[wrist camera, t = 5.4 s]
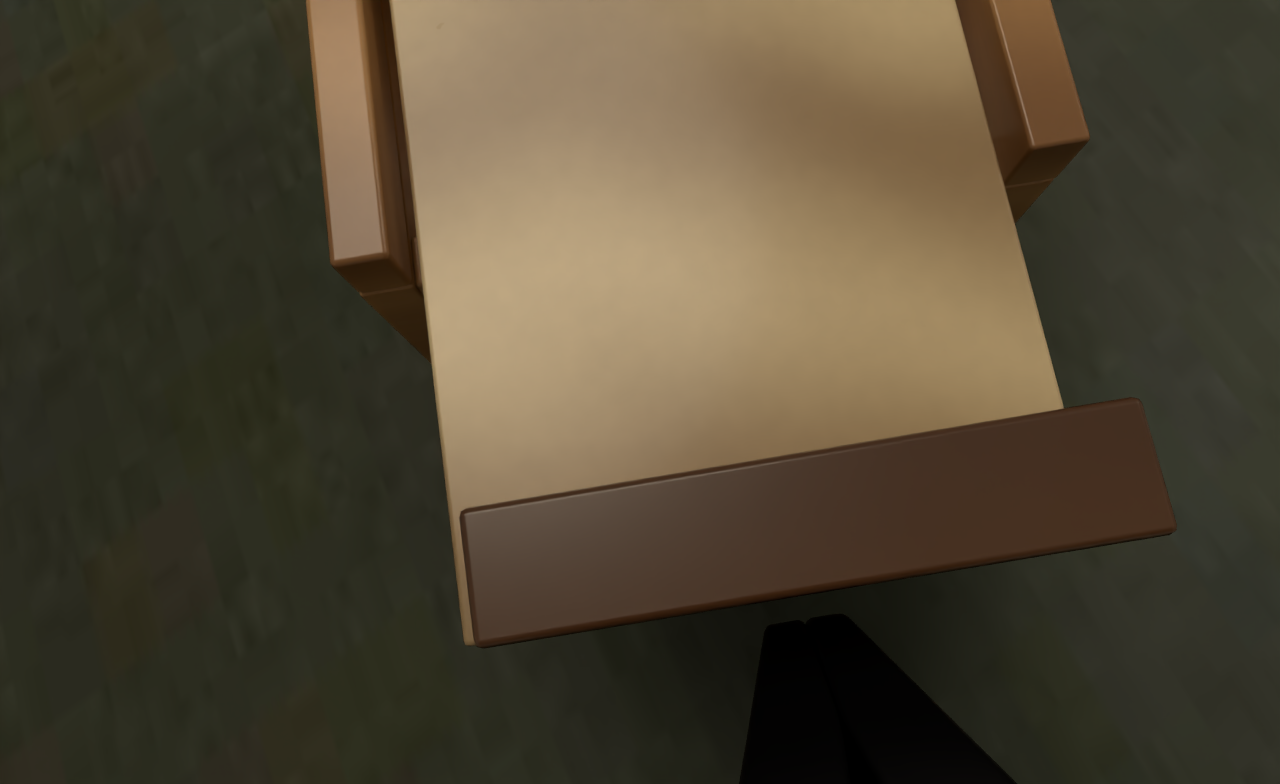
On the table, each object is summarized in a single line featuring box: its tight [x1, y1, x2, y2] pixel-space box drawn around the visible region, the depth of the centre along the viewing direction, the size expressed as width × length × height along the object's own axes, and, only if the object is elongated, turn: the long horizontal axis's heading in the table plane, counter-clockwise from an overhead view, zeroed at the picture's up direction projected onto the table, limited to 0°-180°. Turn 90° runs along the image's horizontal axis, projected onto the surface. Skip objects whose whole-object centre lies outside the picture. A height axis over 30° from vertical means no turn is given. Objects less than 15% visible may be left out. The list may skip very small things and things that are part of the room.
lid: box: [389, 0, 1177, 648], centre depth 11 cm, size 12×8×4 cm, turn 9°
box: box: [306, 0, 1090, 363], centre depth 18 cm, size 12×10×9 cm
